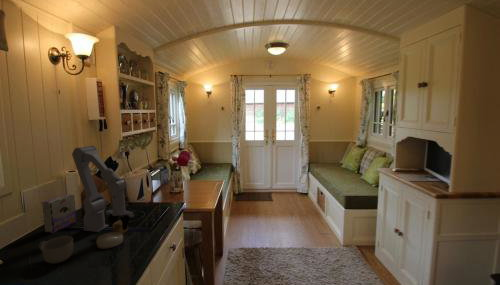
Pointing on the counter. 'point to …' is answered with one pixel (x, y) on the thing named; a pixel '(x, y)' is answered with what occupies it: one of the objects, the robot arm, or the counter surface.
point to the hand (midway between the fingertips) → (120, 228)
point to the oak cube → (119, 227)
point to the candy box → (59, 213)
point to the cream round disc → (109, 240)
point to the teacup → (57, 249)
